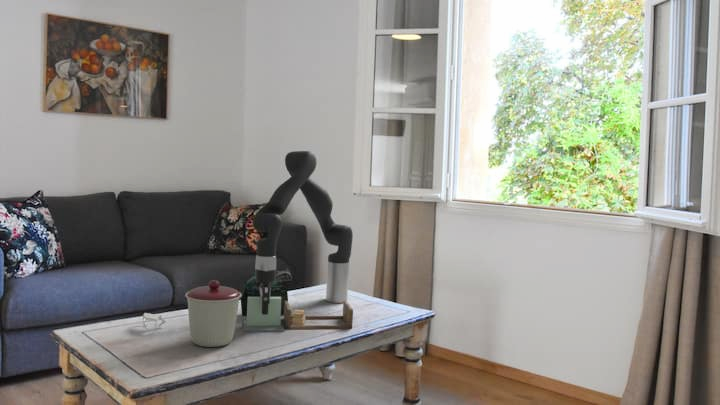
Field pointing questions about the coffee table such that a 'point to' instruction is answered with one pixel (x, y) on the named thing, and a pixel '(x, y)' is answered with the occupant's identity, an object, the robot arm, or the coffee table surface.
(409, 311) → the coffee table surface
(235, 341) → the coffee table surface
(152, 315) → the origami figure
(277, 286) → the green animal sculpture
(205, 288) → the canister
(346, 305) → the walnut rack
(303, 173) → the robot arm
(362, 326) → the coffee table surface
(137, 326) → the coffee table surface
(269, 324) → the pale green block
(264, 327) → the rubber mat
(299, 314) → the offcut block
